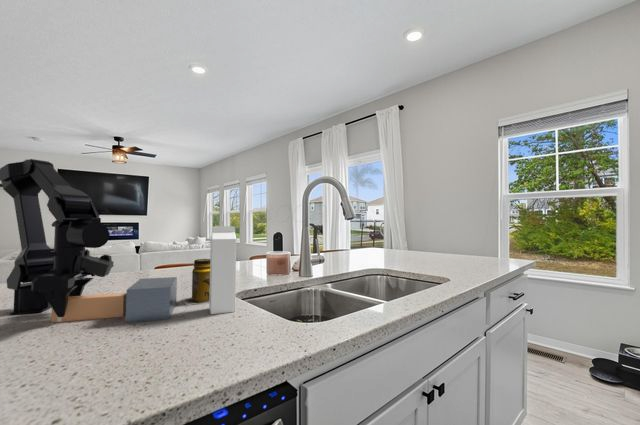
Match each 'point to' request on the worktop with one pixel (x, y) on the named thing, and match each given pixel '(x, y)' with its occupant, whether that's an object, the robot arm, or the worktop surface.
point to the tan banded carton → (93, 307)
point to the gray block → (151, 299)
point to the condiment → (200, 283)
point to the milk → (222, 269)
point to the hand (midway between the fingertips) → (67, 312)
